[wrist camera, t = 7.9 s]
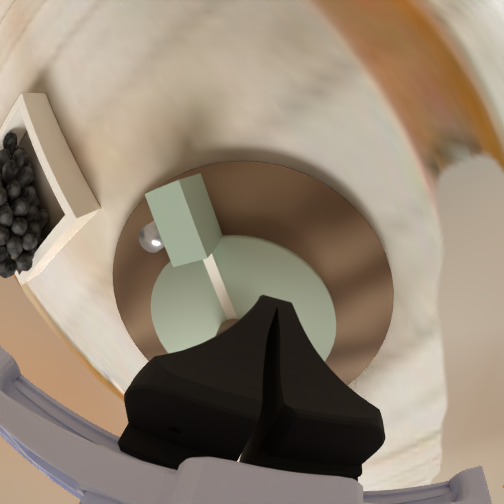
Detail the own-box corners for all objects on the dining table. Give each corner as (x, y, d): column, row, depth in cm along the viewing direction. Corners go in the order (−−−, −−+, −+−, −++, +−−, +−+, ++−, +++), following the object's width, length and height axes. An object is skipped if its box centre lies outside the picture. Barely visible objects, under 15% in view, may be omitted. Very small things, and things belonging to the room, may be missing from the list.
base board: (417, 354, 23) (435, 397, 17) (213, 419, 30) (201, 456, 25) (302, 98, 17) (305, 76, 11) (79, 255, 25) (40, 280, 19)
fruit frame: (101, 208, 22) (76, 218, 19) (39, 273, 27) (21, 285, 24) (45, 93, 19) (21, 92, 16) (-5, 178, 24) (-24, 183, 20)
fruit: (-43, 143, 12) (-21, 290, 17) (8, 117, 14) (30, 288, 19) (2, 142, 21) (17, 261, 25) (52, 124, 22) (66, 255, 27)
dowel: (196, 222, 21) (168, 244, 17) (179, 233, 22) (148, 257, 17) (184, 203, 21) (152, 219, 16) (167, 214, 22) (133, 234, 17)
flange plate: (346, 372, 23) (350, 404, 19) (197, 390, 26) (186, 417, 23) (290, 144, 17) (289, 142, 13) (108, 211, 20) (78, 224, 17)
